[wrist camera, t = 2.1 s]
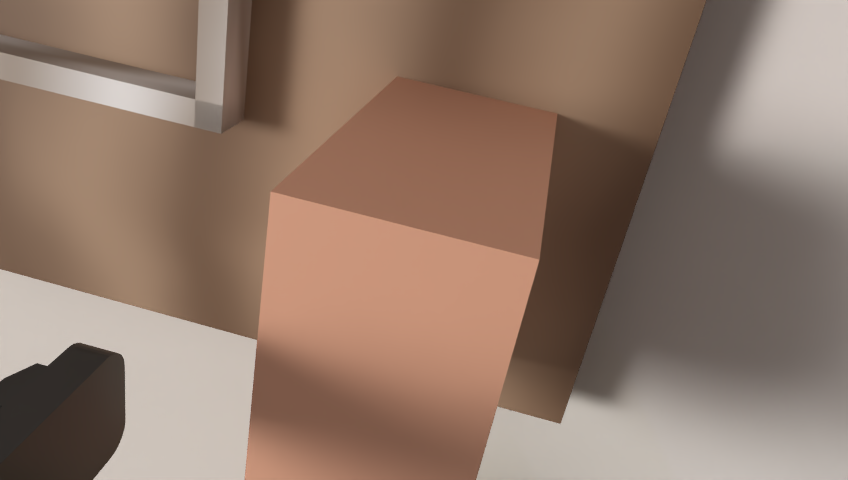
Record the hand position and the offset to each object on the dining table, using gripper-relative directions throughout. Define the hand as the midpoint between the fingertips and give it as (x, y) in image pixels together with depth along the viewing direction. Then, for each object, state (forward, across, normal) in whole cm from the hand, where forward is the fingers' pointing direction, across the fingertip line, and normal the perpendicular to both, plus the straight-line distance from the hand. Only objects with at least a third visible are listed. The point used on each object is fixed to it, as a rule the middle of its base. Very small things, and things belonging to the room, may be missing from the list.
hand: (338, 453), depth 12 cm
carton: (+10, 0, 0) cm, 10 cm away
